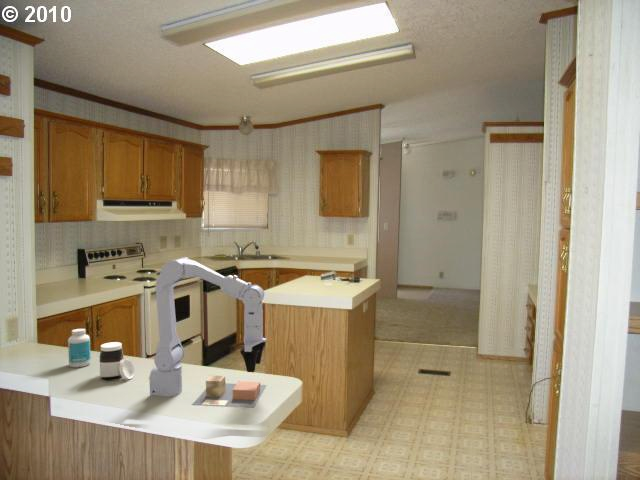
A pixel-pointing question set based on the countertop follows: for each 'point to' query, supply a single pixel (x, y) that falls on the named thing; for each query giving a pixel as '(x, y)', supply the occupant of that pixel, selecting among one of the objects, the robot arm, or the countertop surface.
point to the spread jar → (114, 363)
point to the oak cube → (215, 386)
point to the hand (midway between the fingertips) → (253, 367)
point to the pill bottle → (79, 348)
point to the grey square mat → (227, 398)
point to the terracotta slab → (246, 390)
